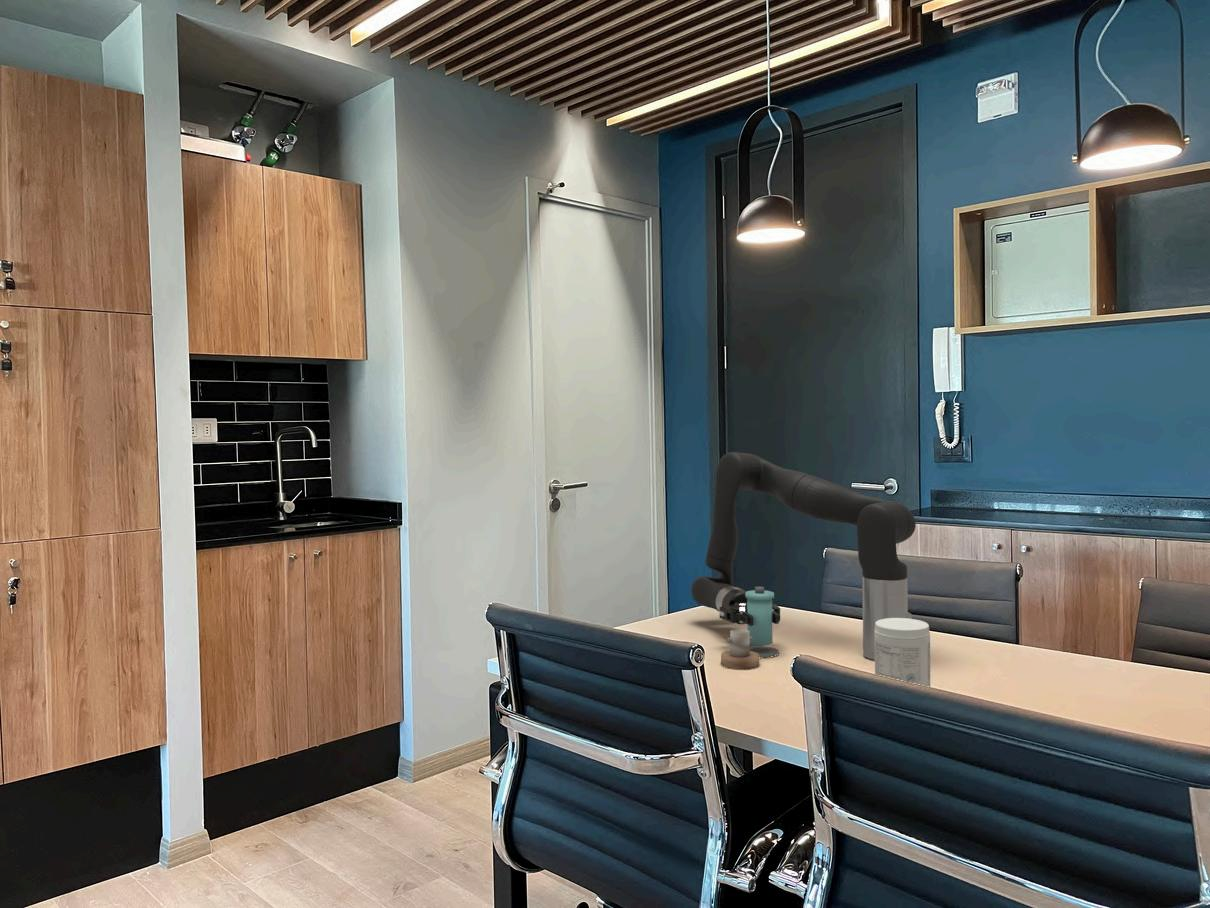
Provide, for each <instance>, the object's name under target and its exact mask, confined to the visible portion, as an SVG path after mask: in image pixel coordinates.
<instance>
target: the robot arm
mask: <svg viewBox="0 0 1210 908" xmlns="http://www.w3.org/2000/svg"><path fill="white" fill-rule="evenodd" d="M714 490H715V491H714V500H713V501H714V504H713V505H714V506H713V518H712V528H711V533H710V538H709V541H708V547H707V551H706V556H705V560H704V561H705V565H706V566H707V567H708V568H710V569H711V570H712V571H717V572H719V575H720V576H719V578H718V577H710V576H703V575H701V576H699V577H697V578H696V579H694V580H693V582H692V584H691V588H690V592H691V597H692V599H693V601H694V602H695V603H696V604H697V605H700V606H703V607H706V608H710V609H712V610H715V611H717V612H719V613H718V614H719V619H721V620H724V621H726V622H729V623H732V624H737V625H747V626H748V625H749V626H753V616H752V615H750V614H748V613H747V598H746V597H745V592H747V591H746V590H744V589H742V588H739V587H735V586H734V578H733V577H734V573H733V572H734V562H735V558H736V554H737V550H738V549H737V548H738V543H739V530H738V526H737V519H736V514H735V513H736V511H735V507H736V500H737V497H738V494H739V491H740V490H741V491H752V492H758V493H759V492H760V493H762V494H766V495H769V496H772V497H775V498H776V499H777V500H779V502H780V503H782V504H783V505H784V506H785V507H787V508H788V509H790V510H792V511H794V512H796V513H799V514H802V515H803V516H804V515H805V516H807V517H810V518H813V519H816V520H820V521H821V520H822V521H827V522H833V523H834V522H835V523H840V524H841V523H842V524H848V525H852V526H853V525H854V526H856V535H857V536H856V538H857V539H856V540H857V557H858V561H859V562H858V563H859V565H860V567H861V571H862V572H861V573H862V655H863V657H864V658H866V657H867V659H870V660H873V661H875V644H874V633H875V631H874V630H875V622H876V621H878V620H881V619H886V618H908V619H913V618H912V613H911V612H909V611H908V567H907V566H908V565H906V563H905V562H902V561H901V560H900V559H899V558H898V553H897V544H900V543H904V542H905V541H907V540H908V539H910V538H911V537H912V536H913V534H914V533H915V530H916V528H917V525H916V523H917V522H916V519H915V516H914V514H913V513H912V511H911V510H910V509H909V508H908V507H907V506H905V505H904V504H902V503H900V502H898V501H895V500H894V501H893V500H889V499H884V498H879V497H874V496H870V495H866V494H863V493H861V492H857V491H854V490H853V489H850V488H848V487H845V486H842V485H840V484H837V483H835V482H831V481H829V480H826V479H824V478H821V477H818V476H815V475H812V474H808V473H806V472H801V471H798V470H794V469H789V468H784V467H781V466H779V465H776V464H774V463H772V462H770V461H768V460H766V459H765V458H762V457H760V456H758V455H755V454H754V453H753V454H752V453H747V452H737V451H731V452H727V453H725V454H723V455H722V456H721V458H720V460H719V461H718V463H717V467H716V474H715V487H714ZM780 622H781V608H780V606H778V604H776V603H773V602H772V624H774V625H778V624H779V623H780Z"/></svg>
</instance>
